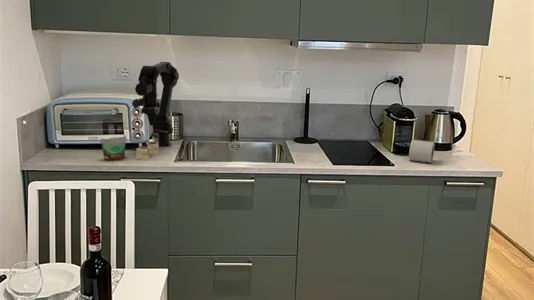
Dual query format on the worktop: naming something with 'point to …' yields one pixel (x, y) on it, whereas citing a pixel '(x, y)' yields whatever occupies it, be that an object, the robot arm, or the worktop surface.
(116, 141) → the food container
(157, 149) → the number block
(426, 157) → the toilet paper
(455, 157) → the worktop surface
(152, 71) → the robot arm
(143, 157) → the number block
